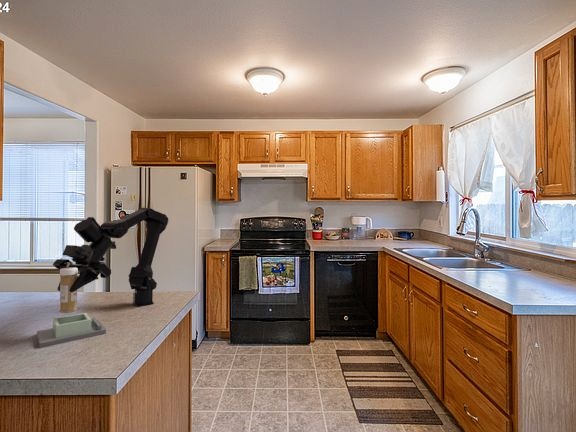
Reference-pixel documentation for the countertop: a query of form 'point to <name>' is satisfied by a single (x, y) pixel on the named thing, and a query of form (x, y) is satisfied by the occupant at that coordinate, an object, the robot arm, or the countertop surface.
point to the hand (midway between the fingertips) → (64, 291)
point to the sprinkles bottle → (66, 297)
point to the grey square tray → (70, 329)
